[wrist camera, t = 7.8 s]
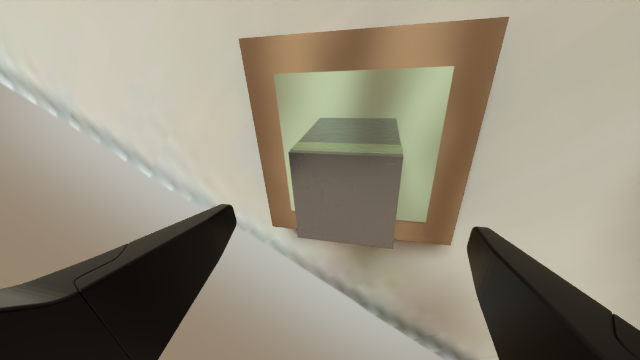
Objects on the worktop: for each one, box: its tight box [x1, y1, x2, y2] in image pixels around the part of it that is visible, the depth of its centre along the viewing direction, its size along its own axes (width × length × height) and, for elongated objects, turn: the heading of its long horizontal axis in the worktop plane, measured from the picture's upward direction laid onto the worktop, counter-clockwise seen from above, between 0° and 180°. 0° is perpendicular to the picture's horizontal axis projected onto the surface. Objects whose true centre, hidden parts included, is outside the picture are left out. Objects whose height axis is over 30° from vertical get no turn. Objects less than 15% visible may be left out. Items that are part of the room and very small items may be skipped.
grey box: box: [288, 118, 403, 249], centre depth 13 cm, size 5×5×6 cm
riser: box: [239, 17, 509, 245], centre depth 17 cm, size 14×14×3 cm
